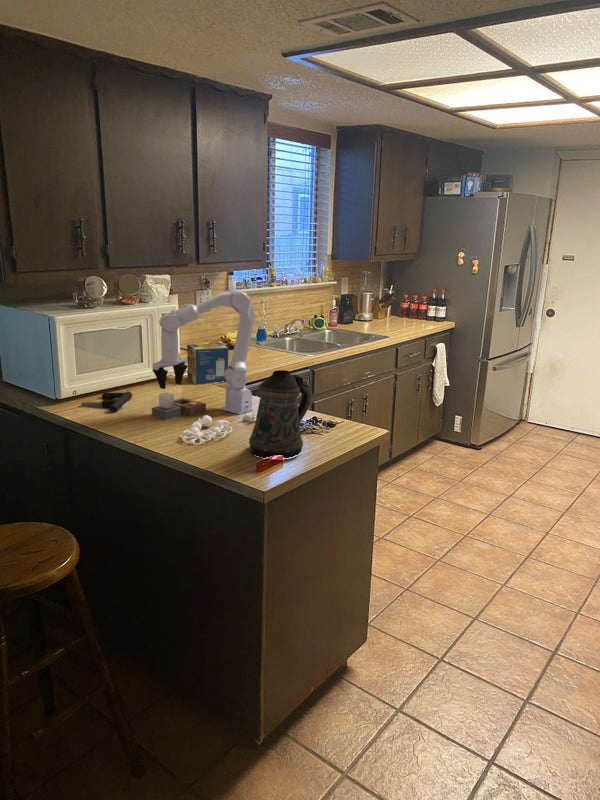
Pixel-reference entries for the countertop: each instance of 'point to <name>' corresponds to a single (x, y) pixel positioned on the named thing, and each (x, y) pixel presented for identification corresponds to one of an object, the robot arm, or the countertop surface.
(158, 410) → the grey square frame
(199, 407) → the socket block
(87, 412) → the countertop surface
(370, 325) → the countertop surface
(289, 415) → the beer stein
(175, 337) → the robot arm
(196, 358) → the protein box
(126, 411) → the countertop surface
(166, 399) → the steel peg
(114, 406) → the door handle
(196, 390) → the countertop surface
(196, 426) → the tangled rod sculpture
